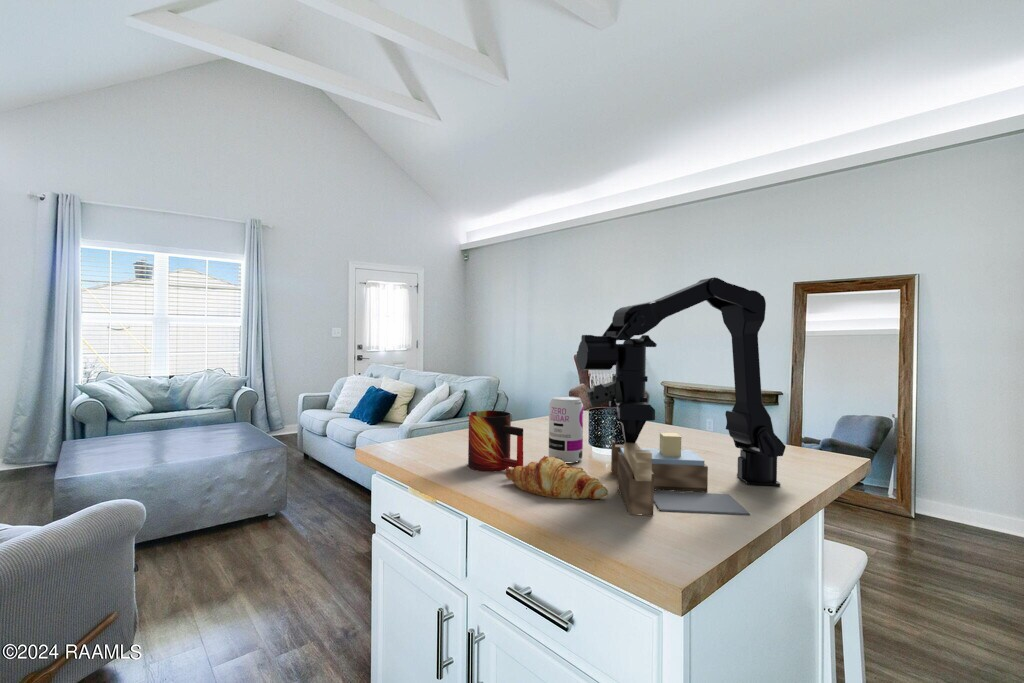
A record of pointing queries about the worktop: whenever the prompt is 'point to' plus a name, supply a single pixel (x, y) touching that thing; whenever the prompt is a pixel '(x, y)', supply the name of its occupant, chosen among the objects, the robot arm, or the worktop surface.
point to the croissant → (556, 480)
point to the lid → (672, 452)
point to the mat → (698, 503)
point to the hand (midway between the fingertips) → (629, 449)
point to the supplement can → (566, 428)
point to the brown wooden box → (654, 481)
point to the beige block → (638, 461)
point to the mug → (492, 441)
